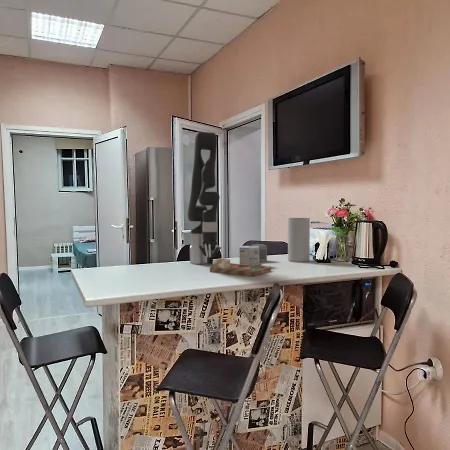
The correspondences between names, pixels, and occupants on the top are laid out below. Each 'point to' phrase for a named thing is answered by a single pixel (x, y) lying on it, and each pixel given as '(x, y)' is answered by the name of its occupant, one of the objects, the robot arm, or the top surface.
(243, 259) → the light bulb box
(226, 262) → the birch block
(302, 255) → the cylinder vase
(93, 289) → the top surface
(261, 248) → the cassette player
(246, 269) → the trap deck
